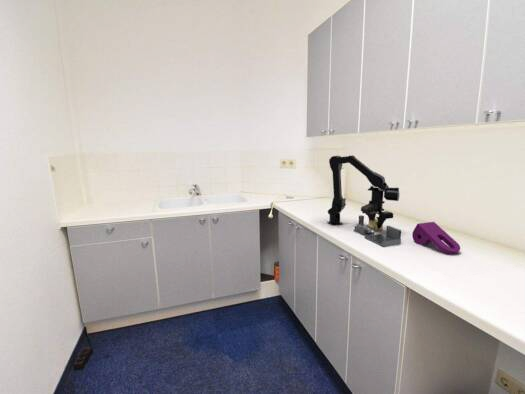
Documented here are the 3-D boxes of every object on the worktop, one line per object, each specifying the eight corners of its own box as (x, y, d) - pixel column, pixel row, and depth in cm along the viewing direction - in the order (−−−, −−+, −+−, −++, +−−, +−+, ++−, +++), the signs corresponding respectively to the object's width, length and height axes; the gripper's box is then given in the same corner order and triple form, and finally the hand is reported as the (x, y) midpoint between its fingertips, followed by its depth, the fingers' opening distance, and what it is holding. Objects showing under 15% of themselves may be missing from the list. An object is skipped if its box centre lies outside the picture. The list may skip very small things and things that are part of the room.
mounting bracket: (455, 263, 117) (425, 234, 131) (465, 250, 112) (433, 221, 126) (437, 266, 115) (409, 236, 128) (447, 252, 110) (417, 223, 124)
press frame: (350, 231, 144) (350, 220, 143) (368, 228, 147) (368, 218, 146) (382, 247, 121) (383, 234, 120) (403, 243, 125) (404, 231, 124)
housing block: (368, 228, 147) (368, 219, 146) (375, 227, 149) (376, 218, 148) (374, 230, 143) (375, 221, 142) (382, 229, 144) (383, 220, 143)
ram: (356, 227, 145) (356, 215, 144) (360, 227, 146) (361, 214, 144) (371, 234, 134) (372, 221, 132) (375, 234, 134) (376, 220, 133)
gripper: (353, 197, 149) (352, 224, 152) (376, 204, 131) (375, 234, 134) (370, 195, 152) (368, 222, 155) (395, 202, 135) (392, 231, 138)
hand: (375, 227), depth 146 cm, fingers closed on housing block, 5 cm apart
